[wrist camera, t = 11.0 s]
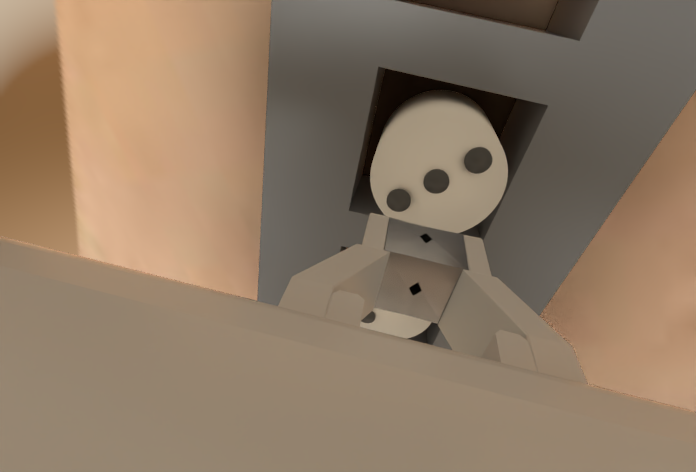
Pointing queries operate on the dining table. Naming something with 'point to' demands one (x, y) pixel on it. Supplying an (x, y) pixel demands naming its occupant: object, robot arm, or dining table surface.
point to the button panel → (516, 139)
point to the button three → (439, 163)
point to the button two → (394, 323)
